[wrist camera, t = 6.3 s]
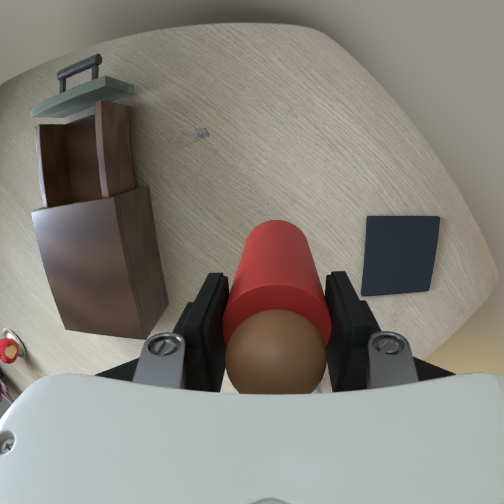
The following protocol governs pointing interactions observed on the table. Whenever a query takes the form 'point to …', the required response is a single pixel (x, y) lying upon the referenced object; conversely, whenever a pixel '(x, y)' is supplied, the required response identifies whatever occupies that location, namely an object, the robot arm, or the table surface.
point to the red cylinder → (276, 315)
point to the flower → (4, 390)
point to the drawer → (84, 140)
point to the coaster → (399, 254)
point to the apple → (10, 347)
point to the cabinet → (104, 264)
